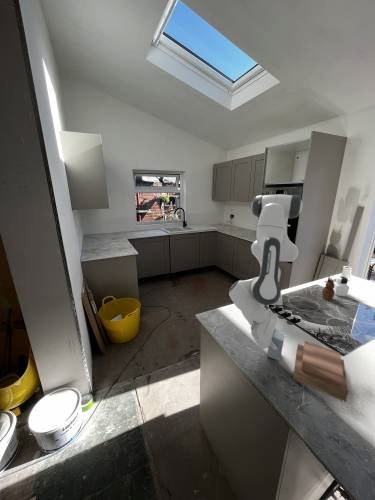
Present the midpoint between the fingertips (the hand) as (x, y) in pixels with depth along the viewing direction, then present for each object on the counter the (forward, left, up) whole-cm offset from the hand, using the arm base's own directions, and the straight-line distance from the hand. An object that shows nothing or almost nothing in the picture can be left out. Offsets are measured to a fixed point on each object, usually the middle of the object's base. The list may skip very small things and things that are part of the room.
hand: (277, 343), depth 85 cm
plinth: (0, +15, -7) cm, 17 cm away
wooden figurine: (-70, +20, -7) cm, 73 cm away
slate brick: (0, -1, -6) cm, 6 cm away
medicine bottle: (-82, +27, -7) cm, 87 cm away
